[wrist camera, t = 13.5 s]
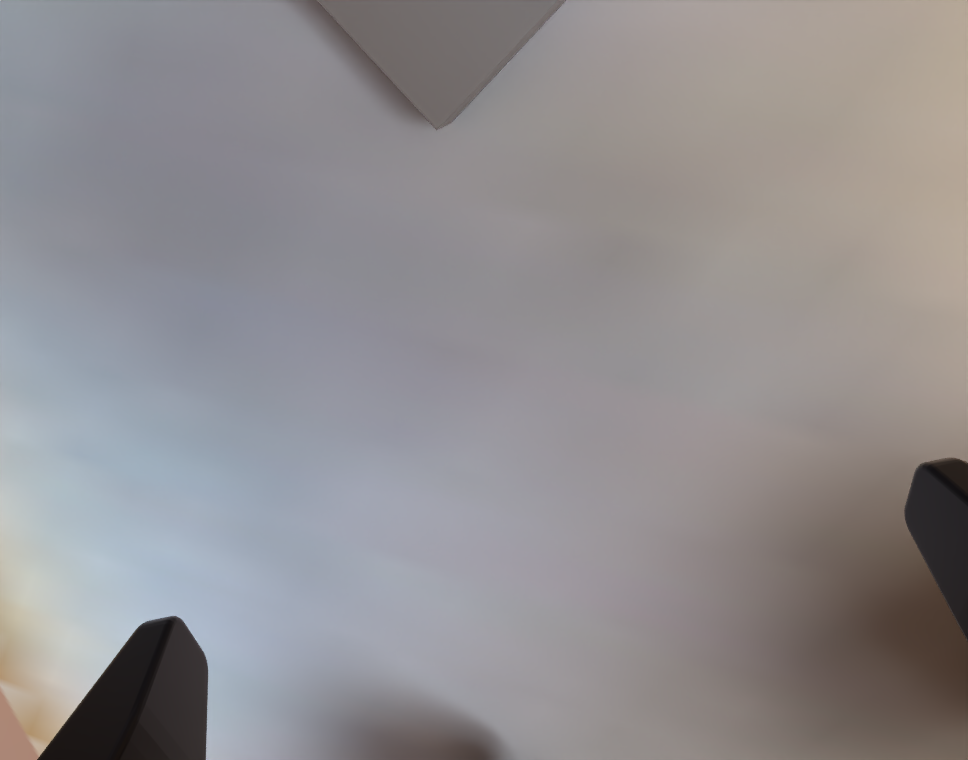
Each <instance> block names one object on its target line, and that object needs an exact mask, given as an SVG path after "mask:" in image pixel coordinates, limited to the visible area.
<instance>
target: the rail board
mask: <svg viewBox="0 0 968 760" xmlns="http://www.w3.org/2000/svg"><path fill="white" fill-rule="evenodd" d="M317 1H318V2H319V3H320V4H321V6H322V7H323V8H324V9H325V10H326V11H327V12H328V13H329V14H330V15H331V16H332V17H333V19H334V20H335V21H336V22H337V23H338V24H339V25H340V26H341V27H342V28H343V29H344V30H345V32H346V33H347V34H348V35H349V36H350V37H351V38H352V39H353V40H354V41H355V42H356V43H357V45H358V46H359V47H360V48H361V49H362V50H363V51H364V52H365V53H366V54H367V55H368V56H369V57H370V59H371V60H372V61H373V62H374V63H375V64H376V65H377V66H378V67H379V68H380V69H381V70H382V72H383V73H384V74H385V75H386V76H387V77H388V78H389V79H390V80H391V81H392V82H393V83H394V85H395V86H396V87H397V88H398V89H399V90H400V91H401V92H402V93H403V94H404V95H405V96H406V98H407V99H408V100H409V101H410V102H411V103H412V104H413V105H414V106H415V107H416V108H417V109H418V111H419V112H420V113H421V114H422V115H423V116H424V117H425V118H426V119H427V120H428V121H429V122H430V123H431V125H432V126H433V127H434V128H435V129H436V130H438V129H440V128H442V127H444V126H446V125H448V124H450V123H451V122H452V121H453V120H454V119H455V118H456V117H457V116H458V115H459V114H460V113H461V112H462V111H463V110H464V109H465V108H466V106H467V105H468V104H469V103H470V102H471V101H472V100H473V99H474V98H475V97H476V96H477V95H478V94H479V93H480V92H481V90H482V89H483V88H484V87H485V86H486V85H487V84H488V83H489V82H490V81H491V80H492V79H493V78H494V77H495V76H496V75H497V73H498V72H499V71H500V70H501V69H502V68H503V67H504V66H505V65H506V64H507V63H508V62H509V61H510V60H511V59H512V57H513V56H514V55H515V54H516V53H517V52H518V51H519V50H520V49H521V48H522V47H523V46H524V45H525V44H526V43H527V42H528V40H529V39H530V38H531V37H532V36H533V35H534V34H535V33H536V32H537V31H538V30H539V29H540V28H541V27H542V26H543V24H544V23H545V22H546V21H547V20H548V19H549V18H550V17H551V16H552V15H553V14H554V13H555V12H556V11H557V10H558V9H559V7H560V6H561V5H562V4H563V3H564V2H565V1H566V0H317Z"/></svg>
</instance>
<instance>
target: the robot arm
mask: <svg viewBox="0 0 968 760" xmlns="http://www.w3.org/2000/svg"><path fill="white" fill-rule="evenodd" d="M905 520H906V524H907V527H908V529H909V531H910V533H911V535H912V537H913V539H914V541H915V543H916V545H917V547H918V548H919V550H920V552H921V554H922V556H923V558H924V560H925V562H926V564H927V566H928V568H929V570H930V572H931V573H932V575H933V577H934V579H935V581H936V583H937V585H938V587H939V589H940V591H941V593H942V595H943V597H944V598H945V600H946V602H947V604H948V606H949V608H950V610H951V612H952V614H953V616H954V618H955V620H956V621H957V623H958V625H959V627H960V629H961V631H962V632H963V634H964V636H965V638H966V639H967V641H968V463H967V462H965V461H962V460H960V459H956V458H944V459H940V460H935V461H930V462H925V463H922V464H920V465H919V466H918V467H917V468H916V470H915V473H914V477H913V480H912V484H911V487H910V491H909V494H908V498H907V502H906V505H905ZM207 695H208V666H207V660H206V657H205V654H204V652H203V651H202V649H201V648H200V646H199V644H198V643H197V641H196V640H195V638H194V637H193V635H192V634H191V632H190V631H189V629H188V628H187V626H186V625H185V623H184V622H183V621H182V619H180V618H178V617H176V616H170V617H165V618H160V619H155V620H151V621H147V622H145V623H143V624H141V625H140V626H139V627H138V628H137V629H136V630H135V632H134V633H133V634H132V636H131V637H130V638H129V640H128V641H127V642H126V643H125V645H124V646H123V647H122V649H121V650H120V651H119V653H118V654H117V655H116V657H115V658H114V659H113V661H112V662H111V663H110V665H109V666H108V667H107V668H106V670H105V671H104V672H103V674H102V675H101V676H100V678H99V679H98V680H97V682H96V683H95V684H94V686H93V687H92V688H91V690H90V691H89V692H88V694H87V695H86V696H85V697H84V699H83V700H82V701H81V703H80V704H79V705H78V707H77V708H76V709H75V711H74V712H73V713H72V715H71V716H70V717H69V719H68V720H67V721H66V722H65V724H64V725H63V726H62V728H61V729H60V730H59V732H58V733H57V734H56V736H55V737H54V738H53V740H52V741H51V742H50V744H49V745H48V746H47V747H46V749H45V750H44V751H43V753H42V754H41V755H40V757H39V758H38V759H37V760H206V732H207Z"/></svg>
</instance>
